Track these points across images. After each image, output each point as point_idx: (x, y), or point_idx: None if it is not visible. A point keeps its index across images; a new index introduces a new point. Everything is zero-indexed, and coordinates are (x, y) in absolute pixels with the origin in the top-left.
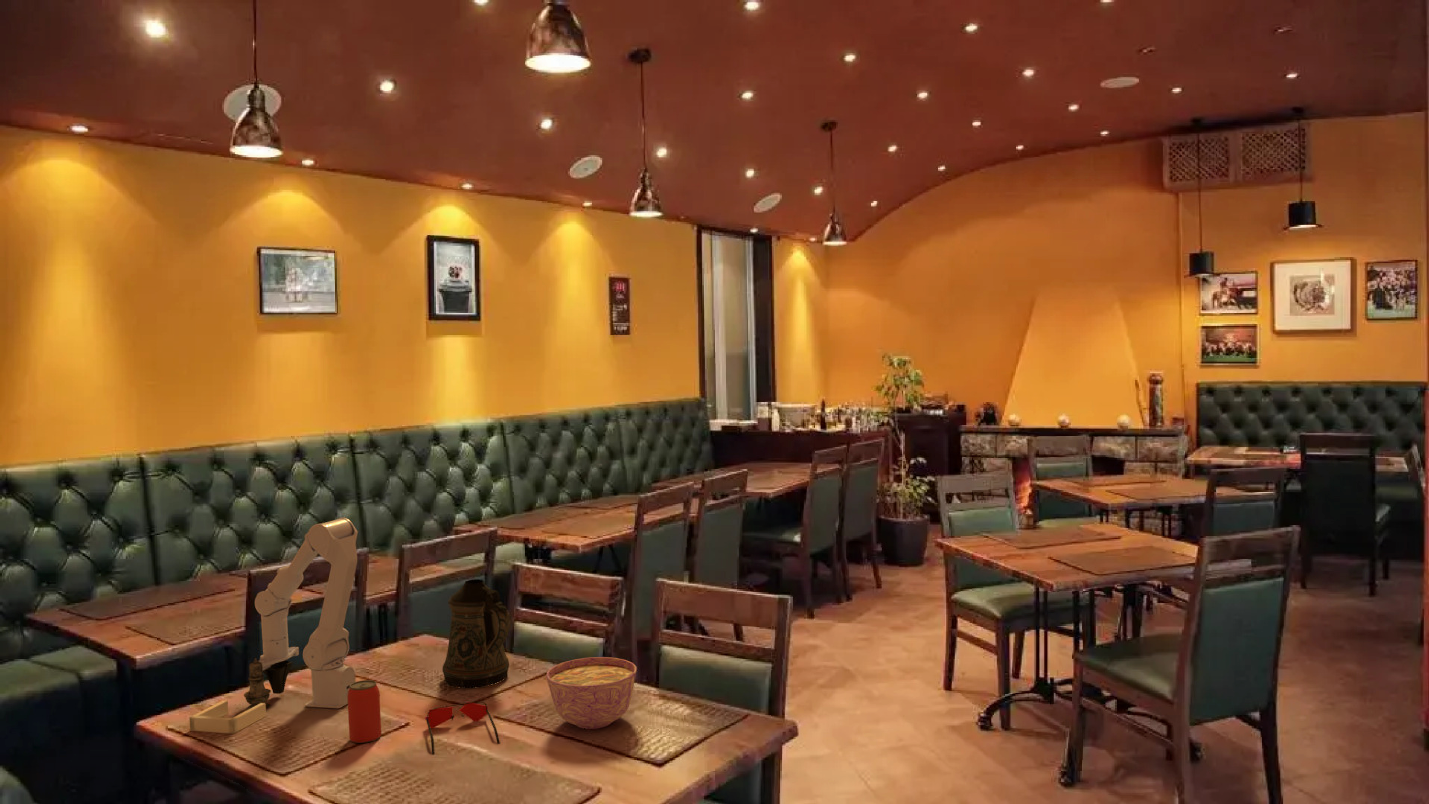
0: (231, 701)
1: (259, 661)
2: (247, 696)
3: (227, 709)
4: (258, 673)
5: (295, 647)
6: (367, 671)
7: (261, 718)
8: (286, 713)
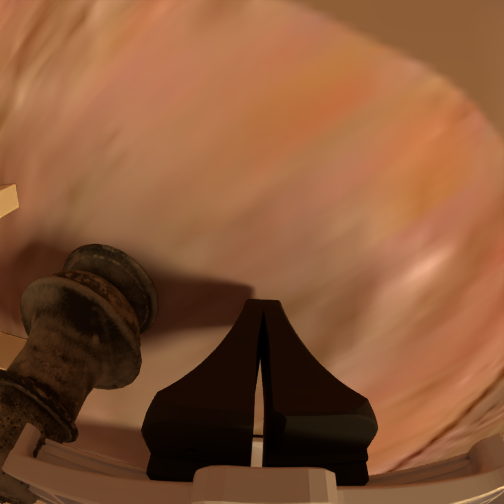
0: (145, 74)
1: (52, 495)
2: (23, 321)
3: (3, 215)
4: None
5: (490, 499)
6: (497, 403)
7: None
8: (113, 403)
